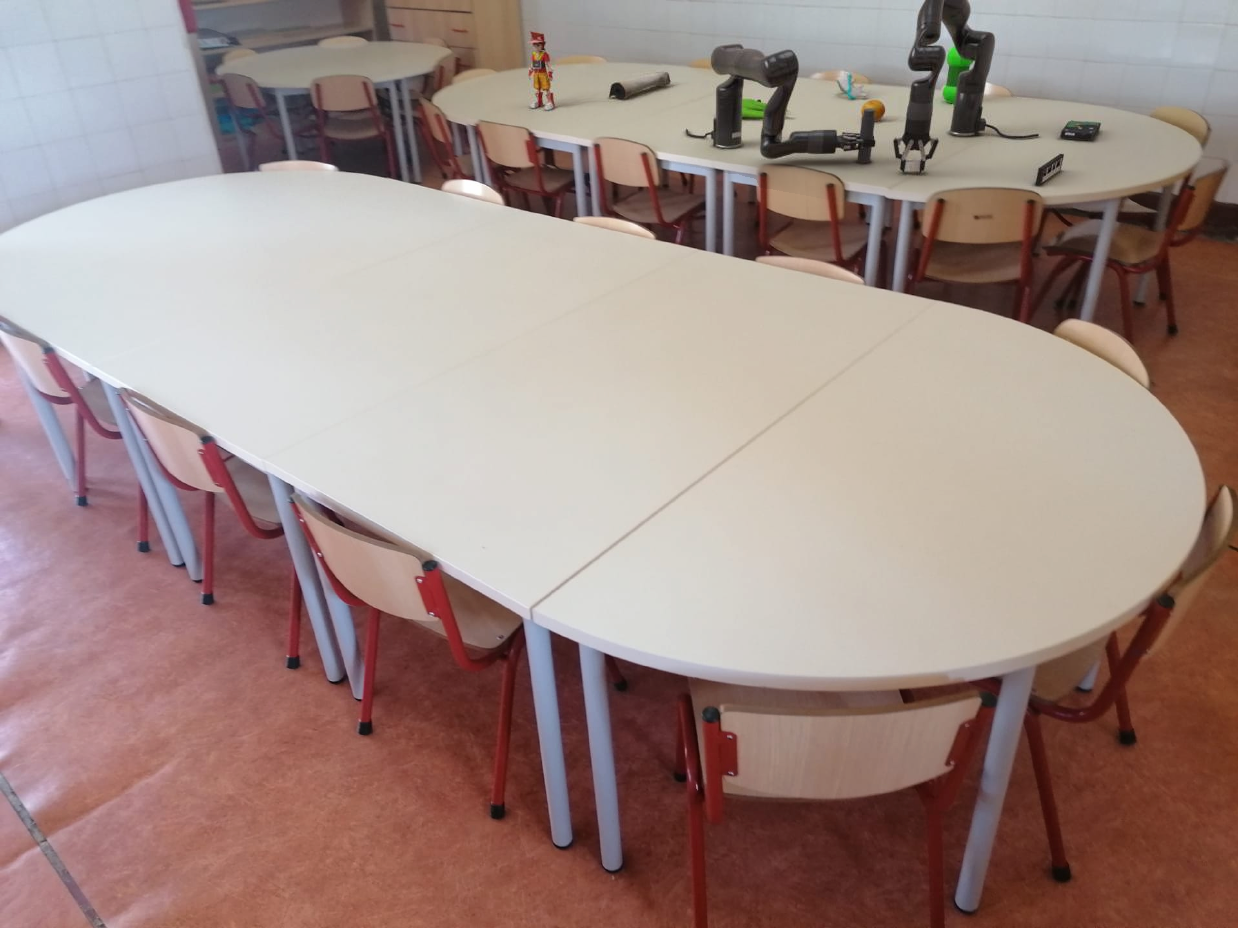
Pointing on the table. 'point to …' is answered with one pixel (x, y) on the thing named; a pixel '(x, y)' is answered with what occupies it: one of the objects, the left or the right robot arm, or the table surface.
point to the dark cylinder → (866, 135)
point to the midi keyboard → (1049, 169)
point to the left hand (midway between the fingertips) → (874, 141)
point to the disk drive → (1080, 130)
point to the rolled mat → (638, 84)
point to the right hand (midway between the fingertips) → (911, 171)
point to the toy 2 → (753, 108)
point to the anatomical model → (850, 86)
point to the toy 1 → (541, 71)
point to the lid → (912, 164)
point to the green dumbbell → (954, 73)
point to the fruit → (876, 106)
